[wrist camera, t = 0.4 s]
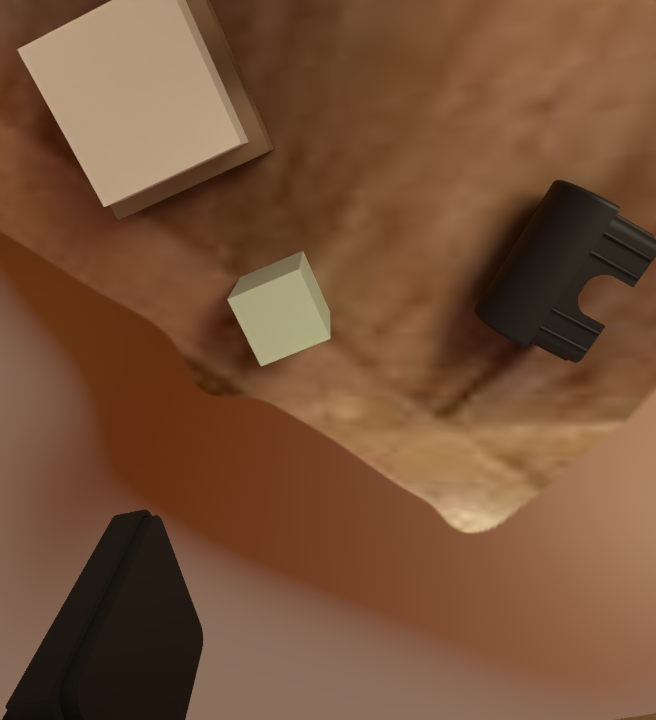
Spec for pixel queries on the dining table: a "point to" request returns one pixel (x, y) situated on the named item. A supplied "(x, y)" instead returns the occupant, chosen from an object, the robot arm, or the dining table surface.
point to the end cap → (563, 270)
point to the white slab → (134, 94)
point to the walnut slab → (241, 103)
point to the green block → (281, 309)
